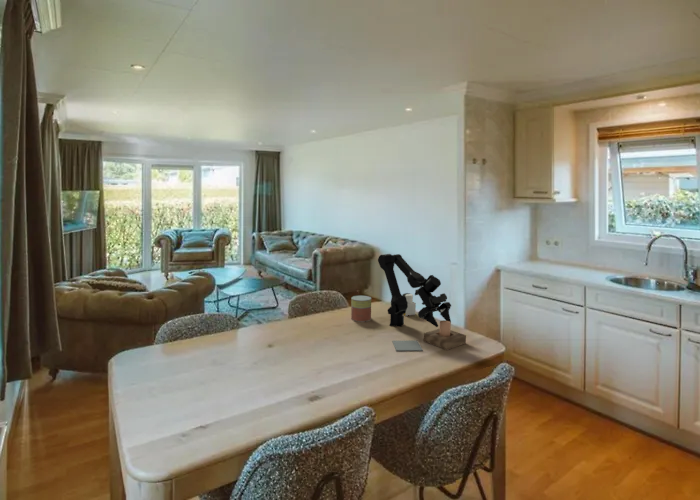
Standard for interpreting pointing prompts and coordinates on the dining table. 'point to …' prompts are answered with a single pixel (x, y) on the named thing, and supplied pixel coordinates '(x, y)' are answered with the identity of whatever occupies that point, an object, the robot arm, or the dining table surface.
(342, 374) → the dining table surface
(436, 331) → the pocket block
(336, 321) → the dining table surface
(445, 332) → the peg
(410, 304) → the medicine bottle
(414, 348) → the pad
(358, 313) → the canned food
